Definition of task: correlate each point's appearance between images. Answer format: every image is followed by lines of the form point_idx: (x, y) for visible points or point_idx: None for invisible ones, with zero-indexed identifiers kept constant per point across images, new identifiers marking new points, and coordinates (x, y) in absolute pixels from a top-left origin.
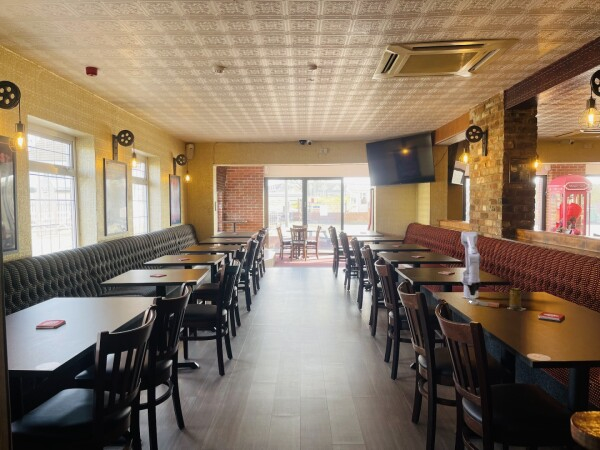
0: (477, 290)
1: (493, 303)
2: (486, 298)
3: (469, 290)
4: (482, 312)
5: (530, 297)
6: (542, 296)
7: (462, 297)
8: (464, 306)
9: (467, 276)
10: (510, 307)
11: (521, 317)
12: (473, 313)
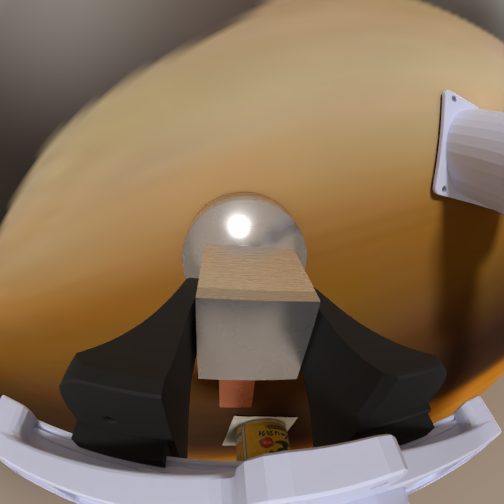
0: (278, 375)
1: (229, 391)
2: (470, 262)
3: (159, 308)
4: (48, 348)
5: (481, 372)
6: (489, 380)
7: (442, 98)
8: (83, 216)
9: None
10: (244, 426)
11: None
12: (4, 315)
